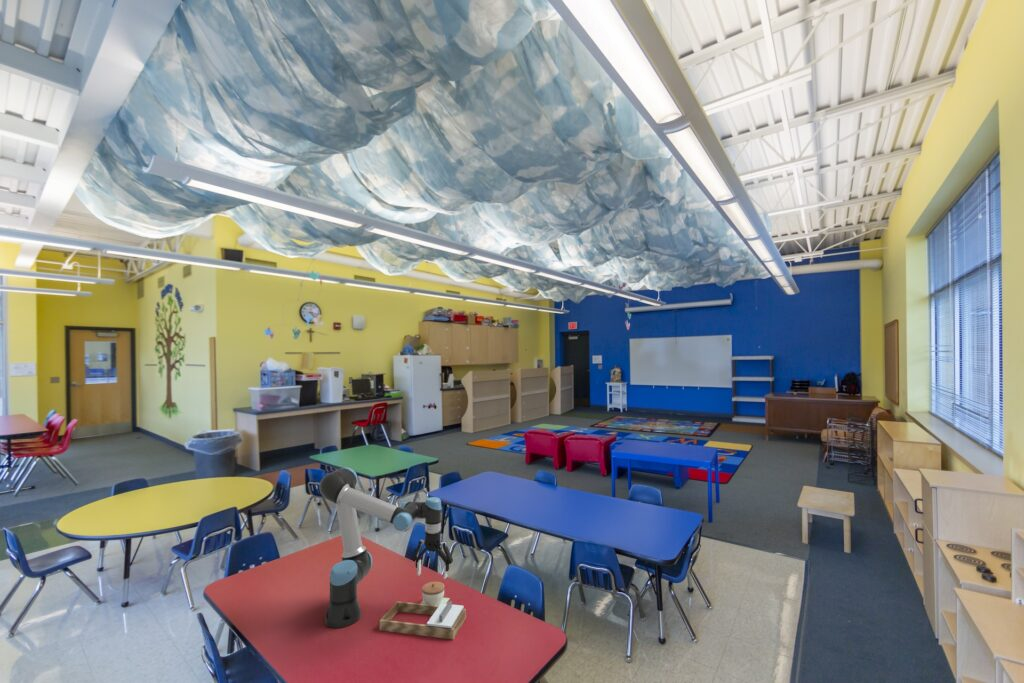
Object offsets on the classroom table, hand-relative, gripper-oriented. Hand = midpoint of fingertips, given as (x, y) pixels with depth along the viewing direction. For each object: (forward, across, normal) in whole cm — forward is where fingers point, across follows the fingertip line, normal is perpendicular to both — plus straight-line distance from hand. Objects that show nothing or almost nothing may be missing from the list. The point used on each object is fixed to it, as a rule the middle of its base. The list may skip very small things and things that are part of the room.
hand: (432, 576), depth 209 cm
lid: (+9, +13, -15) cm, 22 cm away
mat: (+13, +1, 0) cm, 13 cm away
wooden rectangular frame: (+13, +3, -15) cm, 20 cm away
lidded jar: (+13, +1, 0) cm, 13 cm away
